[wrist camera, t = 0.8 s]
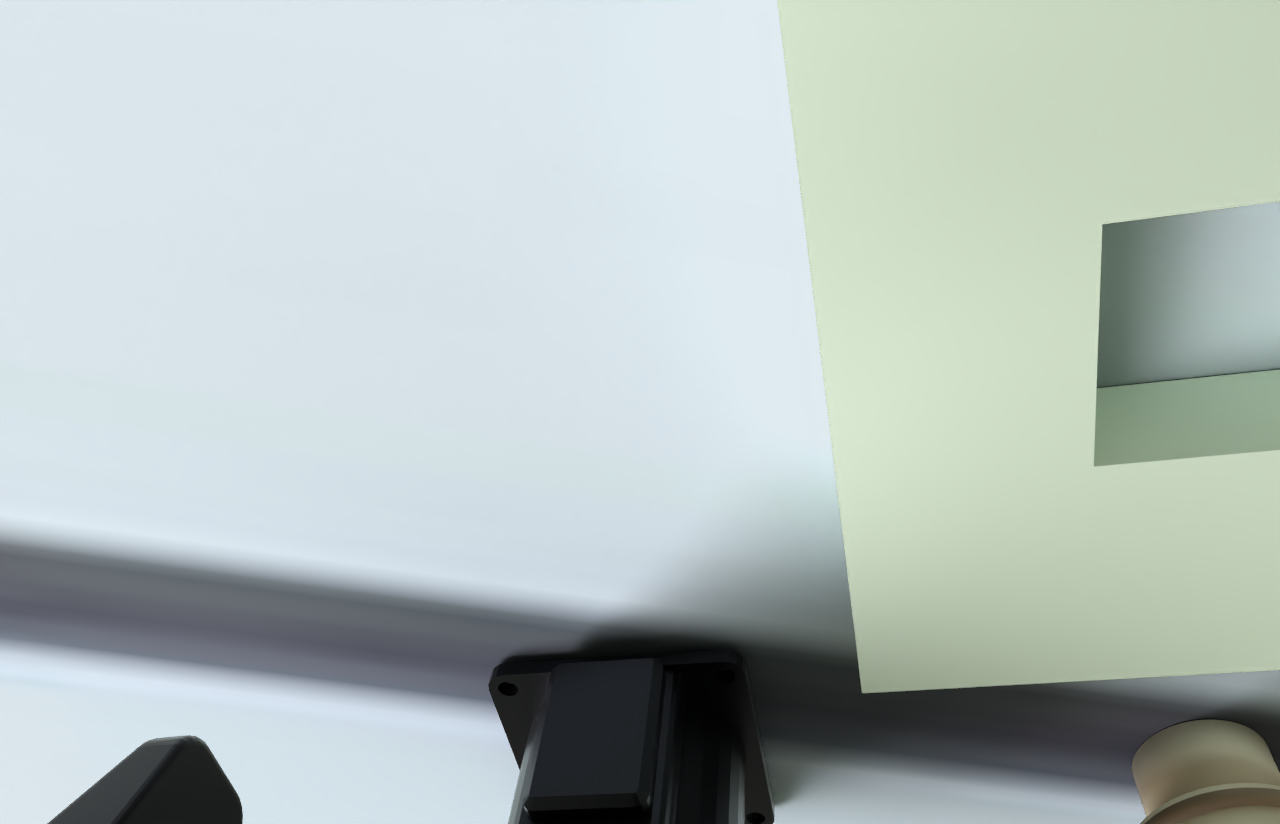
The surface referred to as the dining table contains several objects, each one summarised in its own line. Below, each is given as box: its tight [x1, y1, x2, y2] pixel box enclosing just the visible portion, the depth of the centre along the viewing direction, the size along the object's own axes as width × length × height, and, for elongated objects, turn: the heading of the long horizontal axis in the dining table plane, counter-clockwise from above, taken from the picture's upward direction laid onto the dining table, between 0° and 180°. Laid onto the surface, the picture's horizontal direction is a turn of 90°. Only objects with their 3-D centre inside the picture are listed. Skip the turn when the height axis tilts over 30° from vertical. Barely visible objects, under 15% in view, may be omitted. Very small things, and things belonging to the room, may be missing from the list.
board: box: [777, 0, 1280, 693], centre depth 19 cm, size 16×14×2 cm
